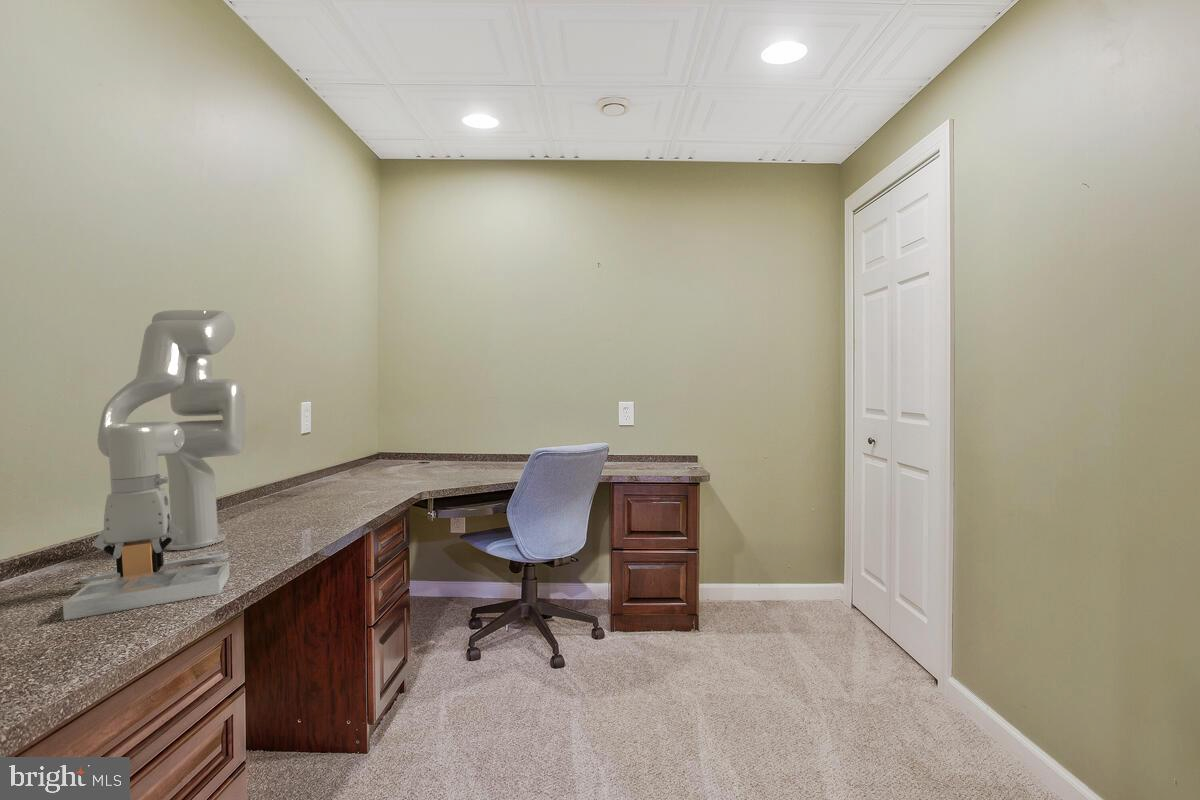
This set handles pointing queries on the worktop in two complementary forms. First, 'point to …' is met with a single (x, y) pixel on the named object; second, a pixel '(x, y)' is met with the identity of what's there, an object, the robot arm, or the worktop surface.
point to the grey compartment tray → (146, 590)
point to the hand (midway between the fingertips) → (141, 572)
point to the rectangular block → (137, 558)
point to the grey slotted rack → (165, 565)
